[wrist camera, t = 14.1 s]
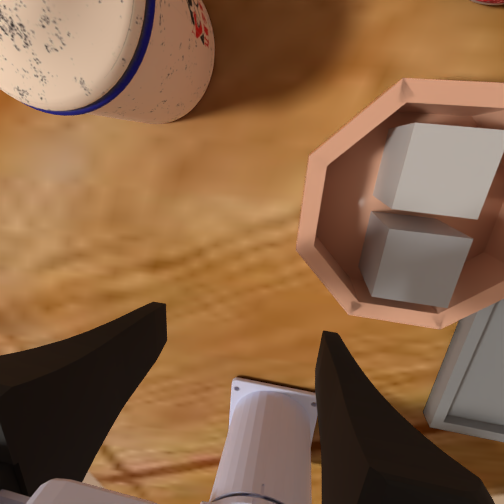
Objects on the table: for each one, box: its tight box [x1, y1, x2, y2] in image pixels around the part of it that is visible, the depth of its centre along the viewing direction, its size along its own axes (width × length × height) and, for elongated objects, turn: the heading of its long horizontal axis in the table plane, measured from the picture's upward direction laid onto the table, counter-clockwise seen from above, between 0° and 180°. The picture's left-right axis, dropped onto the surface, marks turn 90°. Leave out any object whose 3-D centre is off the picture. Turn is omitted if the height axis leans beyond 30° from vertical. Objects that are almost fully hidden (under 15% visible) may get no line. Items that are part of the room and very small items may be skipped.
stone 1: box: [373, 123, 504, 220], centre depth 16 cm, size 4×4×4 cm
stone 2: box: [358, 211, 473, 308], centre depth 17 cm, size 4×4×4 cm
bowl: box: [296, 78, 504, 329], centre depth 17 cm, size 13×13×4 cm
